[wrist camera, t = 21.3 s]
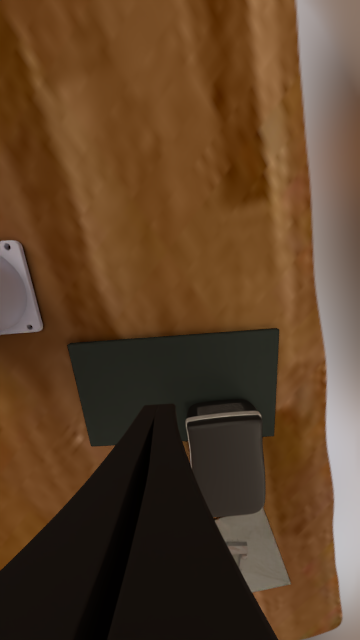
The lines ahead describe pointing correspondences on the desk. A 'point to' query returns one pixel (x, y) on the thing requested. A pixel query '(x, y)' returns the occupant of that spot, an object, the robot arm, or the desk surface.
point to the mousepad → (254, 550)
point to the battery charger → (227, 455)
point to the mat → (173, 377)
